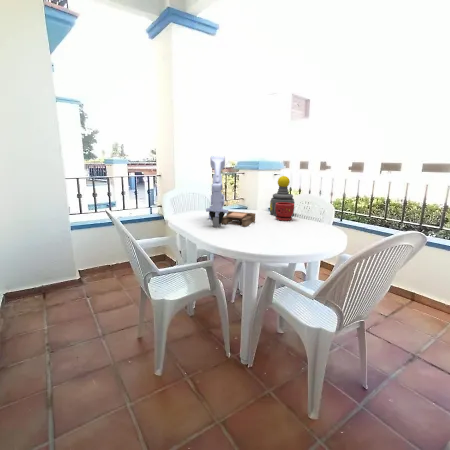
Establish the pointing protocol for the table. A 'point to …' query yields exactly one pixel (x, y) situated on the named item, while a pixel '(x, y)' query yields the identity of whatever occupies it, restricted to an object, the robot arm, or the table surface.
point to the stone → (216, 222)
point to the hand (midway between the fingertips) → (216, 223)
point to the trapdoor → (237, 215)
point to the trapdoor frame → (245, 221)
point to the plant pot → (284, 211)
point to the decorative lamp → (281, 195)
